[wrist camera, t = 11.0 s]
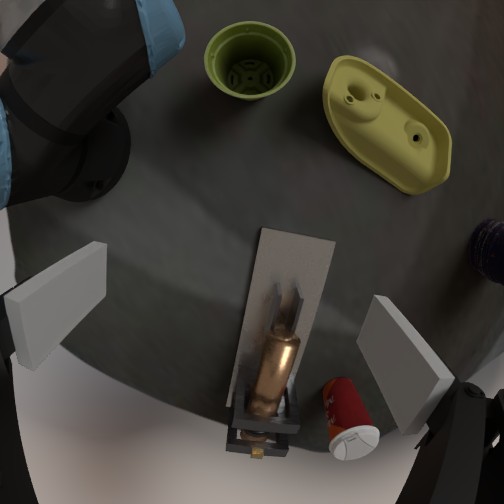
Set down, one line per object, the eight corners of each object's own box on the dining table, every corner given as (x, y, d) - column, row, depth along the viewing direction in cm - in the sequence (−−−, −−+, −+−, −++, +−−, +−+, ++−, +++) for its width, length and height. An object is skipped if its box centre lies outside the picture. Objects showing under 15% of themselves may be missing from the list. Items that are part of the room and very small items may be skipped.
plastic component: (452, 131, 33) (448, 186, 31) (420, 147, 40) (411, 199, 38) (340, 44, 29) (319, 90, 27) (316, 74, 36) (294, 121, 34)
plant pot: (284, 47, 33) (290, 20, 24) (290, 111, 35) (299, 96, 27) (213, 52, 33) (202, 25, 25) (217, 116, 36) (206, 102, 27)
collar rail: (262, 226, 39) (264, 256, 27) (334, 240, 40) (367, 274, 27) (226, 403, 48) (219, 462, 35) (281, 410, 49) (286, 468, 36)
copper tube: (265, 326, 38) (266, 345, 34) (298, 331, 39) (303, 350, 34) (240, 423, 44) (239, 443, 40) (267, 427, 44) (267, 447, 40)
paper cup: (310, 384, 47) (323, 446, 33) (351, 365, 46) (376, 424, 32) (325, 409, 49) (339, 467, 35) (363, 392, 48) (385, 448, 34)
